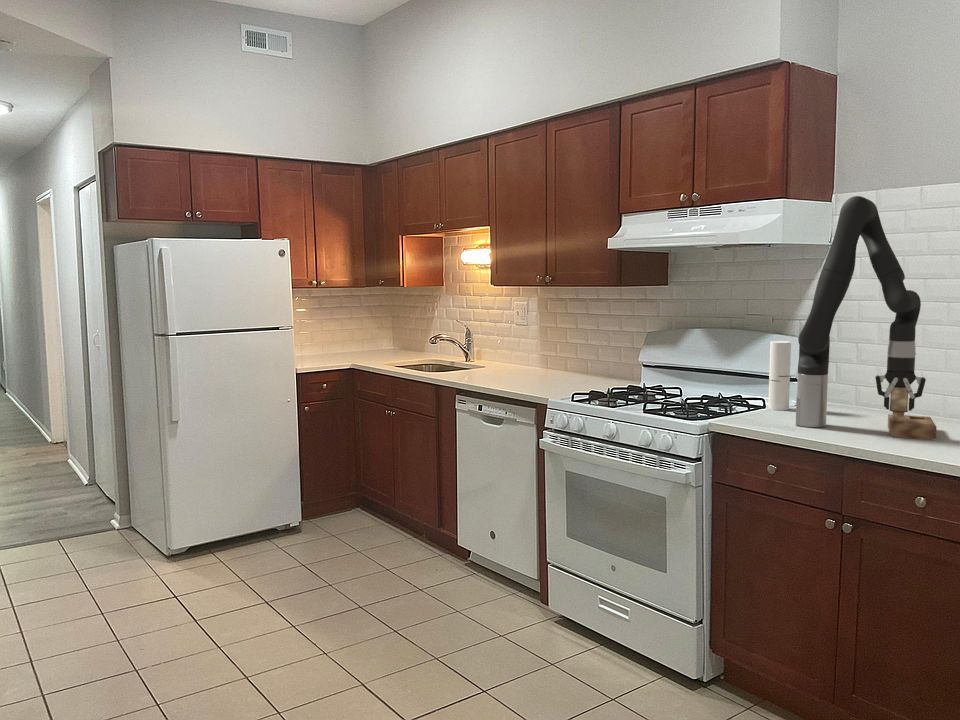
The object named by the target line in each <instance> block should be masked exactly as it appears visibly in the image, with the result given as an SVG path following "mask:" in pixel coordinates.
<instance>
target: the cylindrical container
mask: <svg viewBox="0 0 960 720" xmlns="http://www.w3.org/2000/svg"><path fill="white" fill-rule="evenodd" d="M791 354H792V342H791V341H784V340H773V341H772V340H771V341H770V344H769V374H768V375H769V377H768V403H767V404H768V405H767V406H768V407H767V408H768V410H770V411H771V410H772V411H789V410H790V388H791V387H790V384H791V381H790V380H791V356H792V355H791ZM788 409H789V410H788Z"/></svg>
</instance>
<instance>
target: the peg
mask: <svg viewBox="0 0 960 720" xmlns="http://www.w3.org/2000/svg"><path fill="white" fill-rule="evenodd" d="M889 398H890V399H889V412H892V414H891V415H892V422H894V423H904V415H905V413H908V412H909V393H908V390H907V388H900V387H894V388H893V390H892V391H891V393H890V396H889Z"/></svg>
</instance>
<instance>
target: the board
mask: <svg viewBox="0 0 960 720" xmlns="http://www.w3.org/2000/svg"><path fill="white" fill-rule="evenodd" d="M892 415H893V414H889V413H888V414H887V429H888V433H889V435H891V436H890V437H891V438H901V437H905V438H904V439H916V438H923V439H922V440H930V439H936V440H937V425H936V423H935V422H934V420H933V419H932V418H931V416H921V415H920V416H919V415H905V414H904V423H894V422H892Z"/></svg>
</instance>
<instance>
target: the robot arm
mask: <svg viewBox="0 0 960 720" xmlns="http://www.w3.org/2000/svg"><path fill="white" fill-rule="evenodd" d="M883 228H884V227H883V224H882V221H881V218H880V214H879V212H878V208H877V205H876V203H874V202H873V201H872V200H870V199H868V198H866V197H864V196H860V195H855V196H852V197H849V198H848V199H847V200H845V202H844V203H843V204H842V206H841V208H840V211H839V215H838V220H837V225H836V228H835V232H834V236H833V240H832V242H831V244H830V248H829V249H828V253H827V256H826V259H825V261H824V264H823V266H822V269H821V271H820V274H819V278H818V281H817V284H816V288H815V292H814V296H813V300H812V305H811V309H810V312H809V314H808V316H807V319H806V321H805V323H804V325H803V326H802V329H801V330H800V333H799V335H798V345H799V348H798V364H797V383H796V385H797V388H796V397H795V398H796V401H795V426H800V427H806V428H825V427H826V426H827V410H828V407H827V406H828V385H829V379H828V378H829V368H830V367H829V364H830V345H831V344H830V343H831V339H830V336H831V330H832V327H833V322H834V320H835V317H836V316H835V315H836V314H837V311H838V310H839V307H840V306H841V304H842V302H843V300H844V298H845V297H846V293H847V292H848V290H849V287H850V284H851V281H852V278H853V275H854V273H855V267H856V260H857V259H856V257H857V256H856V255H857V246H858V242H859V238H860V237H861V238H862V240H863V242H864V244H865V247H866V249H867V252H868V257H869V260H870V264H871V266H872V269H873V271H874V273H875V275H876V276H877V279H878V281H879V282H880V285H881V291H882V293H883V298H884V301H885V304H886V306H887V307H888V309H889V310H890V311H891V312H893V313H895V318H894V321H893V322H891V323H890V326H889V334H888V335H889V337H888V345H887V357H886V358H887V360H886V362H887V363H886V373H885V374H883V375H875V377H874V378H875V385H876V390H877V394H878V395H879V396H882V397H883V407H884V408H885V410H889V411H890V396H891V391H892V390H893V388H894V387H900V388H907V390H908V396H909V397H908V412H909V411H912V410H914V408H915V399H916V398H920V397H921V398H922V395H923V392H924V387H925V384H926V378H925V377H923V376H922V377H919V376H917V375H916V373H915V368H916V367H915V366H916V355H917V353H916V328H917V327H916V326H917V323H918V321H919V316H920V313H921V308H922V307H921V306H922V303H921V302H922V301H921V297H920V295H919V294H918V293H917V292H916V291H914V290H911V289H910V290H908V289H907V288H906V286H905V283H904V280H905V279H906V277H905V275H906V274H905V272H904V271H903V268H902V266H901V264H900V262H899V260H898V259H897V256H896V254H895V253H894V250H893V249H892V247H891V245H890V243H889V241H888V238H887V237H886V234H885V231H884V229H883ZM884 380H886V381H887V383H888V385H887V388H886V390H885V391H883V388H882V383H883V382H884ZM915 381H916V383H917V384H918V386H917V391H916V392H914V390H913V389H912V387H911V386H912V384H913V382H915Z"/></svg>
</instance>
